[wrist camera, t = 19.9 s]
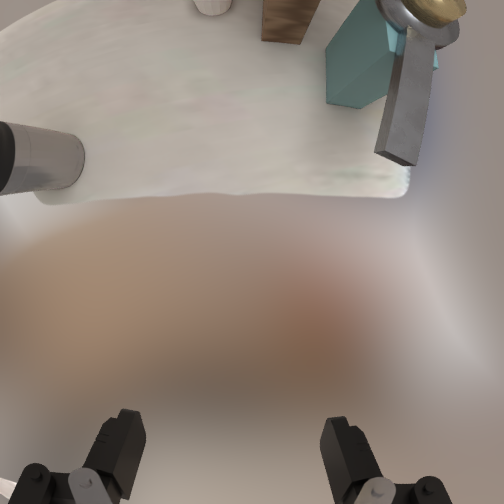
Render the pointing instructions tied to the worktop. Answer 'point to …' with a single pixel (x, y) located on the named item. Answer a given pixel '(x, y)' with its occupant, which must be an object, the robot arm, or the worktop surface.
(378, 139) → the grey lever handle
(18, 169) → the robot arm
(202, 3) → the white yogurt cup
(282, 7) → the tall stand
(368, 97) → the tall block
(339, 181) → the worktop surface
